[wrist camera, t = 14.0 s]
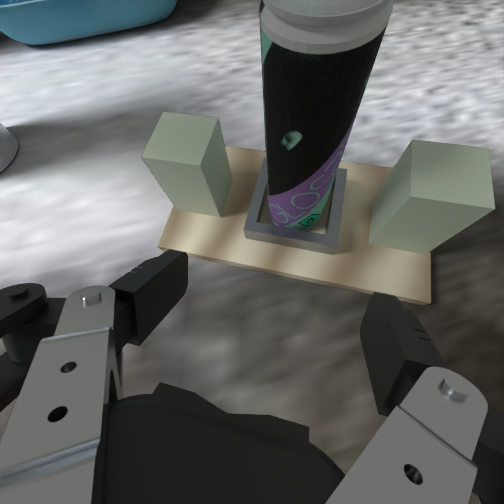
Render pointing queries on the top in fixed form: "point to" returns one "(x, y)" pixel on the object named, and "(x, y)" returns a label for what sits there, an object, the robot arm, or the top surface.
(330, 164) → the spray can
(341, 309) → the top surface
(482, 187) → the sage pillars
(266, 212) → the wooden board
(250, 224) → the metal collar
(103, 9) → the casserole dish
